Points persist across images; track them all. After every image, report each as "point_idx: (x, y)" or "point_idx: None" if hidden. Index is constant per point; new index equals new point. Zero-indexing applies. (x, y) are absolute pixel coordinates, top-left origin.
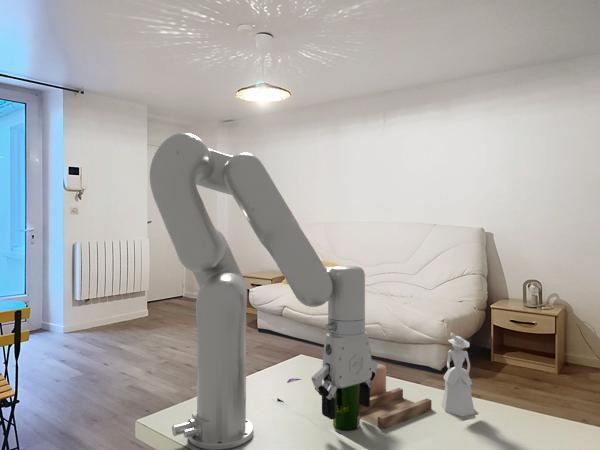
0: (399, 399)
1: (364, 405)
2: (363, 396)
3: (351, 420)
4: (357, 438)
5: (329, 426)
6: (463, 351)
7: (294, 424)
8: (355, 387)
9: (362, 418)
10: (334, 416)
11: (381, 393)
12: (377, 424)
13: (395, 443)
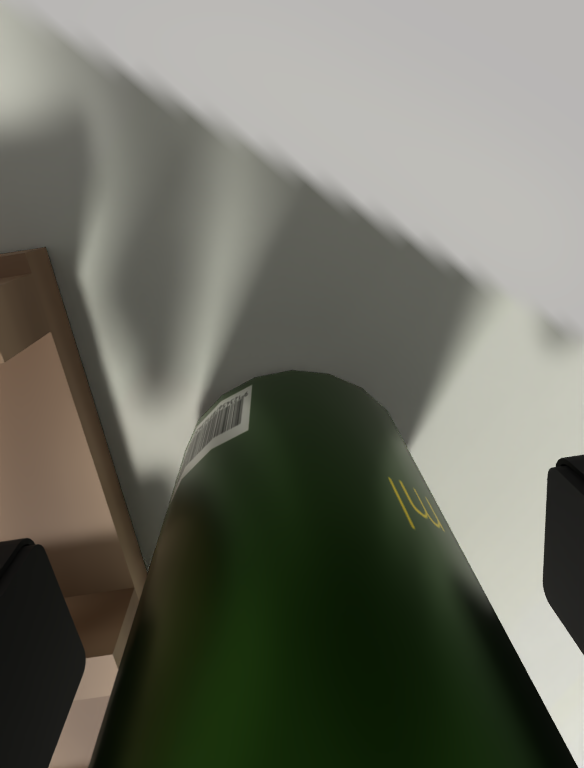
0: None
1: (50, 575)
2: (9, 675)
3: (335, 414)
4: (302, 302)
5: None
6: None
7: (555, 653)
8: None
9: (100, 514)
10: (578, 465)
11: None
12: (29, 367)
13: (27, 38)
